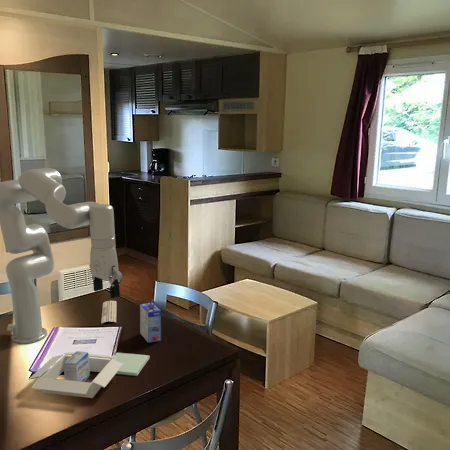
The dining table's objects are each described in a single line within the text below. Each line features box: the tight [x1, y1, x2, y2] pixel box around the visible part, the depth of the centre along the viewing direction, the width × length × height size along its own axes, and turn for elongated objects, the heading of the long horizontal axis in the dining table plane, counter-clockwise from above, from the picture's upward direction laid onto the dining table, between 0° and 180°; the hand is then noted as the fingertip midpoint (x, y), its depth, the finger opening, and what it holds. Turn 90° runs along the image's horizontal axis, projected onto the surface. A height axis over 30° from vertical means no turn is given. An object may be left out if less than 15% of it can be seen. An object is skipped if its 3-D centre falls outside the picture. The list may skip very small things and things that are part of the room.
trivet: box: [110, 352, 151, 377], centre depth 160 cm, size 12×12×1 cm
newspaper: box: [100, 300, 118, 325], centre depth 205 cm, size 24×7×2 cm, turn 12°
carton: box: [28, 351, 123, 399], centre depth 149 cm, size 25×23×5 cm
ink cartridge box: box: [139, 299, 162, 344], centre depth 180 cm, size 10×6×14 cm, turn 27°
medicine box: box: [63, 350, 91, 382], centre depth 149 cm, size 8×4×9 cm, turn 168°
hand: (106, 293), depth 156 cm, fingers open, 9 cm apart
